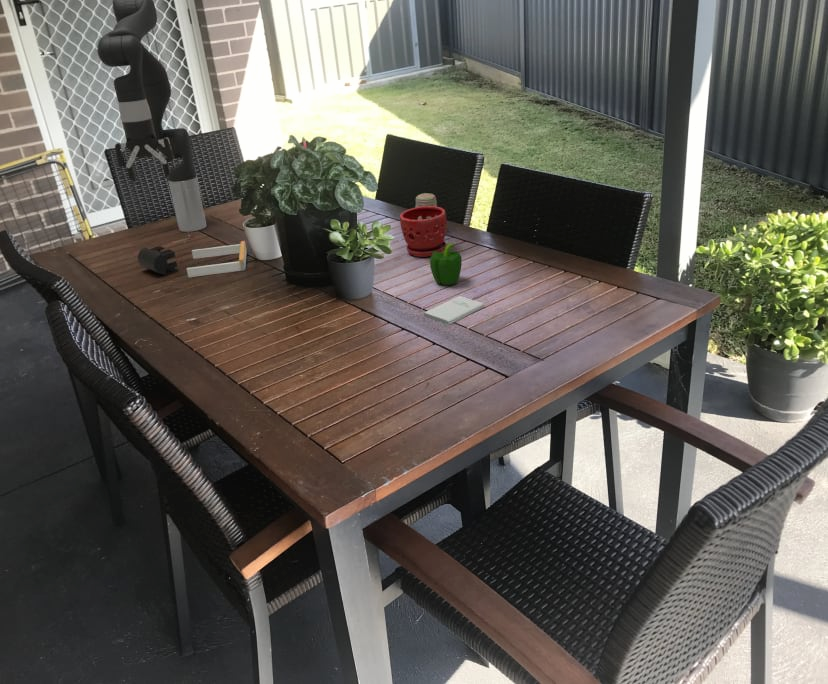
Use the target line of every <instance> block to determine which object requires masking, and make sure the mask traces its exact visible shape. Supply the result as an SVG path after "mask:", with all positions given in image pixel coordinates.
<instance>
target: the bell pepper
mask: <svg viewBox="0 0 828 684" xmlns="http://www.w3.org/2000/svg"><path fill="white" fill-rule="evenodd" d="M454 245H455V244H454V243H449V244H446V248H445V249H444V250H443V251H442V252H441V253H440V252H433V254H432V256H430V259H429V266H430V267H429V268H430V270H431V274H432V277H433V279H434V281H435V283H436V284H439V285H445V286H452V285H455V284H457V282H458V281H459V279H460V276H461V270H462V265H463V262H462V260H463V259H462V256H461V253H460V251H459V250H452V249H450V248H453V247H454Z"/></svg>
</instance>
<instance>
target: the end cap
mask: <svg viewBox="0 0 828 684" xmlns="http://www.w3.org/2000/svg"><path fill="white" fill-rule="evenodd" d="M164 249H165V248H164V247H163V246H162V245H161V246H160V245H158V246H156V247H152V248H147V247H143V248H141V249H140V250H139V252H138V254H137V261H138V264H140V266H141V267H143V268H145V269H148V270H149V271H152V272H153V273H154V272H155V273H156V274H159V275H162V276H168V275H170V274H173V273H176V272H178V271H179V270H178V268H177V267H178V263H177V261H176V260H175V261H171V262H170V263H168V260H171V259H174V258H176V254H175V252H174V250H173V249H165V250H164Z"/></svg>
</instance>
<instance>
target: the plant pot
mask: <svg viewBox="0 0 828 684" xmlns="http://www.w3.org/2000/svg"><path fill="white" fill-rule="evenodd" d="M435 215H437V216H436V217H435ZM419 216H421V217H422V220H418V217H419ZM427 216H430V217H431V218H429V219H426V217H427ZM399 221H400V228H401V233H402V235H403V239H404V242H405V243H406V244H407V246H406V251H407V252H408V254H410V255H412V256H415V257H418V258H419V257H423V258H426V257H428V258H431V256H432V254H433V252H440V253H441V252H442V251H444V250H445V248H446V246H447V242H446V241H445V237H446V233H447V213H446V210H445V209H444V208H443V207H441V206H440V207H439V206H437V207H435V206H423V207H416V208H415V207H413V208H409V209H406V210H405V211H403V212H401V213H400V215H399Z"/></svg>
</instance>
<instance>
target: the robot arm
mask: <svg viewBox="0 0 828 684" xmlns="http://www.w3.org/2000/svg"><path fill="white" fill-rule="evenodd" d="M112 10H113V13H114V17H115V20H116V24H115V25H114V28H113V29H112V30H111V31H109V32H107V33H105V34H104V35H103V36H101V38H100V39H99V40H98V44H97V47H96V49H97V55H98V58H99V60H100V62H102V63H103V65H105V66H107V67H110V68H111V67H112V68H117V67H128V66H129V69H130V70H129V72H128V73H126V74H122V75H121V76H118V77H116V78H115V79H114V80H113V86H114V90H115V91H114V92H115V95H116V99H117V103H118V111H119V117H120V120H121V124H122V126H123V131H124V135H125V139H126V140H125V141H126V142H117V143H115V145H114V149H115V154H116V159H117V163H118V166H119V167H121V168H122V167H123V168H126V170H127V173H128V178H129V179H130V181H132V182H134V183H136V182H137V179H138V178H137V175H136V171H135V168H134V166H133V164H134V162H135V159H136V158H139V159H142V158H152V157H155V158H156V159H158V161H159V162H161V163H162V164H161V165H162V170H163V175H164V178H165V179H167V180H168V185H169V189H170V194H171V199H172V203H173V207H174V211H175V217H176V221H177V225H178V229H179V231H180V232H184V233H185V232H186V233H190V232H196V231H200V230H203V229H205V228H206V227H208V226H207V220H206V215H205V210H204V205H203V201H202V195H201V191H200V187H199V182H198V177H197V171H196V167H195V162H194V157H193V150H192V144H191V138H190V134H189V131H187V129H186V128H184V127H181V128H170V129H169V128H168V129H164V128H163V125H162V124H163V118H164V114H165V111H166V109H167V107H168V104H169V103H170V99H171V95H172V87H171V84H170V81H169V80H170V79H169V76H168V74H167V70H166V68H165V66H163V64H162V63H161V61H159V59H157V58H156V57H155V55H153V54H152V53H151V52H150V51H149V50H148V49H147V48H146V47H145V45H143V43H142V39H143V38H144V37H145V36H146V35H147V34H148V33H149V32H151V31H152V30H153V29H154V28H155V27H156V25H157V22H158V14H157V13H158V12H157V9H156V5H155V2H154V0H112ZM125 148H126V149H127V150H129V152H131V154H130V156H129V159H128V160H127V161H126V160H125V157H124V151H125ZM174 159H182V162H181V163H180V164H178V165H176V166H174V167H173V168H171V169H170V165H169V163H170V162H172V161H173V160H174Z"/></svg>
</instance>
